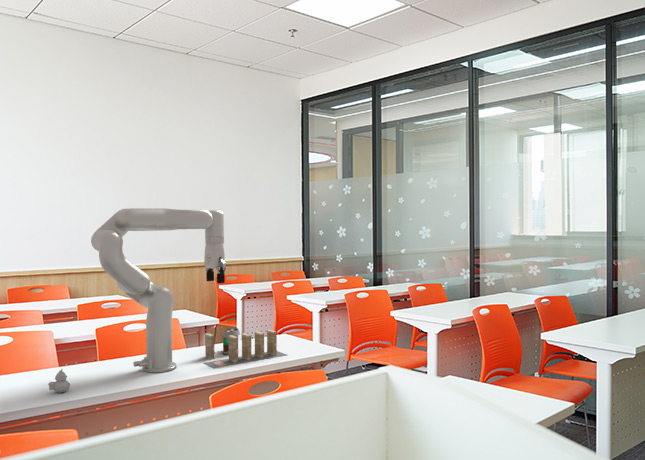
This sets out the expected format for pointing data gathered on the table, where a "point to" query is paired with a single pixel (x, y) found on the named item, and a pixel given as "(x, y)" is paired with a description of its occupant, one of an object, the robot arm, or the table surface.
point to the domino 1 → (209, 345)
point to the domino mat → (240, 360)
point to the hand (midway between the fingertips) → (215, 282)
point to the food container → (226, 334)
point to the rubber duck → (59, 383)
